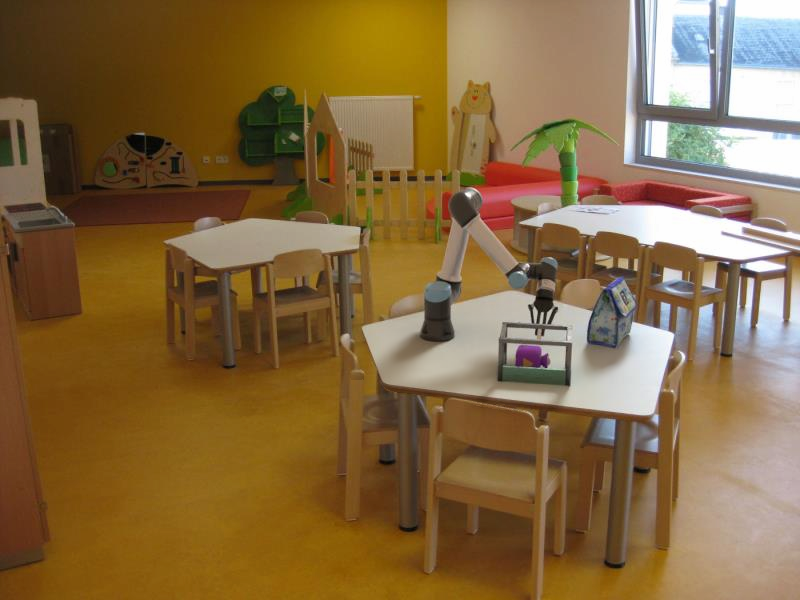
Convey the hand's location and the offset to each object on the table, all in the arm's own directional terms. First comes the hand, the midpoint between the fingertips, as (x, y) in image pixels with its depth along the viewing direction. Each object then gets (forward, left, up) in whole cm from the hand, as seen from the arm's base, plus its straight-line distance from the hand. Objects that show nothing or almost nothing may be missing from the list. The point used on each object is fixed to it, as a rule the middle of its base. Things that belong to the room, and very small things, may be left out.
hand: (538, 342), depth 354 cm
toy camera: (-1, -20, -5) cm, 21 cm away
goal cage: (0, -23, -5) cm, 23 cm away
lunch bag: (+31, +23, -5) cm, 39 cm away
